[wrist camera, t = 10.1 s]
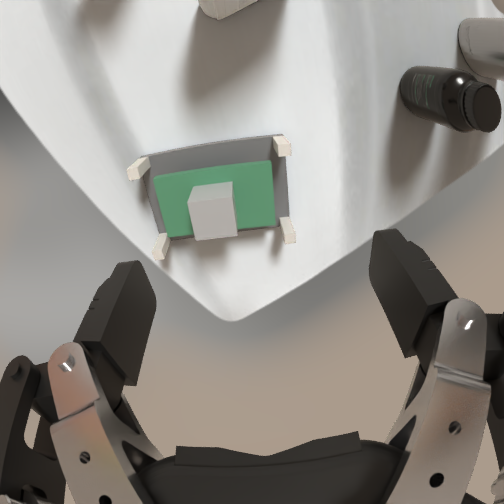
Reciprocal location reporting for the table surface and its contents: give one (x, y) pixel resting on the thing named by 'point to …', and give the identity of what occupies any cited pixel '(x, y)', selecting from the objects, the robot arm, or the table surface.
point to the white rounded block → (223, 7)
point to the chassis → (211, 157)
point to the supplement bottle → (451, 98)
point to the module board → (245, 194)
